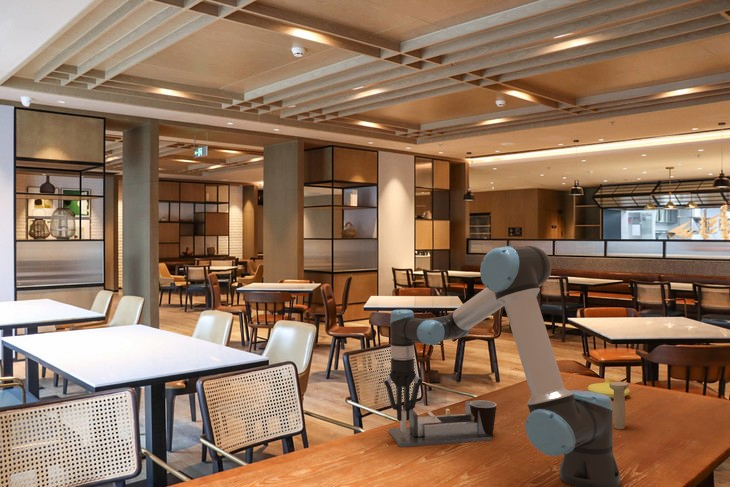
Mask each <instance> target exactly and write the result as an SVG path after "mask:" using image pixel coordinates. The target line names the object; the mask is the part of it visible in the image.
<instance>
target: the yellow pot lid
mask: <svg viewBox="0 0 730 487" xmlns="http://www.w3.org/2000/svg"><path fill="white" fill-rule="evenodd" d="M610 383H612V378H608V377H607V378H605V379H604V382H598V383H592V384H589V385H588V386H587V391H588V392H594V393H599V394H603V395H606V396H608V397H609V398H610V399H614V390H613V389H611V388H610V386H609V384H610ZM630 391H631V390H630V389H629V387H628V388H627V389H626V390H625V391H624V396H625V397H626V396H628V395H629V394H630Z"/></svg>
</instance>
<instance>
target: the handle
mask: <svg viewBox="0 0 730 487" xmlns="http://www.w3.org/2000/svg"><path fill="white" fill-rule="evenodd" d="M609 386H610V388H611V389H613V390H614V398H613V401H612V409H613V412H612V421H613V423H614V424H613V426H614V427H613V428H615V430H624V429H625V426H626V425H625V424H626V417H627V414H626V413H627V412H626V401H625V400H626V398H625V397H626V396H624V391H625V390H626V389H627V388H628V389H629V386H630V385H629V382H625V381H611V383H610V384H609Z"/></svg>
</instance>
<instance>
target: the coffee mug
mask: <svg viewBox="0 0 730 487" xmlns="http://www.w3.org/2000/svg"><path fill="white" fill-rule="evenodd" d="M471 401H472V402H470V409H471V418H472V422H473V421H474V422H477V421H478V411H479V413H480V418H481V422H482V427H483V429H484V432H485V433H486V434H487V435H490V436H491V438H492V437H493V436H494V428H495V423H496V421H495V420H496V413H497V405H498V404H497V403H496V402H493V401H489V400H483V399H482V400H480V399H479V400H471ZM473 405H480V406H482V407H476V406H473Z"/></svg>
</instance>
